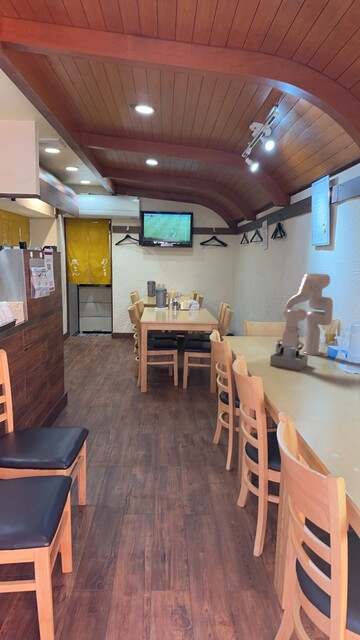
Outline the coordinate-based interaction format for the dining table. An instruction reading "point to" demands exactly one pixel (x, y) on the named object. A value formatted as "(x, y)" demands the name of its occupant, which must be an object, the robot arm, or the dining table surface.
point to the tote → (288, 361)
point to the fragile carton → (289, 353)
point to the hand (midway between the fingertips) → (289, 355)
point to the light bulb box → (279, 347)
